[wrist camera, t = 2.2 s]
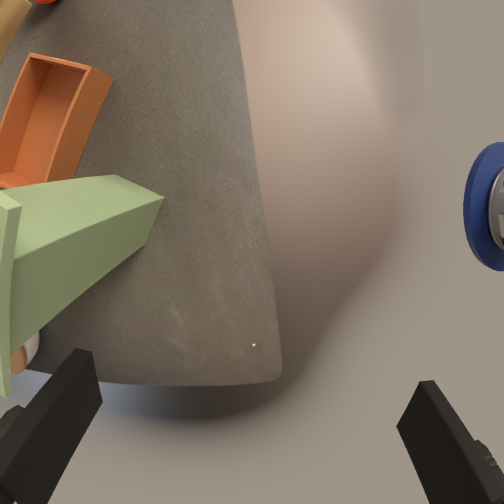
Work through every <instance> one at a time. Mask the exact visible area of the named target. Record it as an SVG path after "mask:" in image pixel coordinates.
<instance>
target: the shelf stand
mask: <svg viewBox="0 0 504 504" xmlns="http://www.w3.org/2000/svg"><path fill="white" fill-rule="evenodd" d="M163 200H164V197H163V196H161V195H158V194H156V193H154V192H152V191H150V190H148V189H146V188H143V187H141V186H139V185H137V184H135V183H133V182H131V181H128V180H126V179H124V178H122V177H120V176H118V175H115V174H114V175H104V176H94V177H85V178H77V179H68V180H61V181H53V182H46V183H40V184H33V185H27V186H21V187H15V188H10V189H4V190H0V395H1V396H2V397H3V398H5V399H6V398H7V397H8V396H9V395H10V394H11V392H12V391H13V386H12V374H11V360H10V357H11V356H12V355H13V354H14V353H15V352H16V351H17V350H18V349H19V348H20V347H21V346H22V345H23V344H24V343H26V342H27V341H28V340H29V339H30V338H31V337H32V336H33V335H34V334H36V333H37V332H38V331H39V330H40V329H41V328H42V327H43V326H45V325H46V324H47V323H48V322H49V321H50V320H51V319H53V318H54V317H55V316H56V315H57V314H58V313H60V312H61V311H62V310H63V309H64V308H65V307H67V306H68V305H69V304H70V303H71V302H73V301H74V300H75V299H76V298H77V297H79V296H80V295H81V294H82V293H84V292H85V291H86V290H87V289H88V288H90V287H91V286H92V285H93V284H95V283H96V282H97V281H98V280H100V279H101V278H102V277H103V276H105V275H106V274H107V273H108V272H110V271H111V270H112V269H114V268H115V267H116V266H117V265H119V264H120V263H121V262H123V261H124V260H125V259H127V258H128V257H129V256H130V255H132V254H133V253H134V252H136V251H137V250H138V249H140V248H141V247H142V246H144V245H145V244H146V242H147V240H148V237H149V235H150V232H151V229H152V227H153V224H154V222H155V219H156V217H157V214H158V212H159V209H160V207H161V204H162V202H163Z"/></svg>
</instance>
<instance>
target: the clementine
mask: <svg viewBox="0 0 504 504" xmlns="http://www.w3.org/2000/svg"><path fill="white" fill-rule="evenodd" d="M34 1H35V2H37V3H40V4H48V3H51V2H54V1H56V0H34Z"/></svg>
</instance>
